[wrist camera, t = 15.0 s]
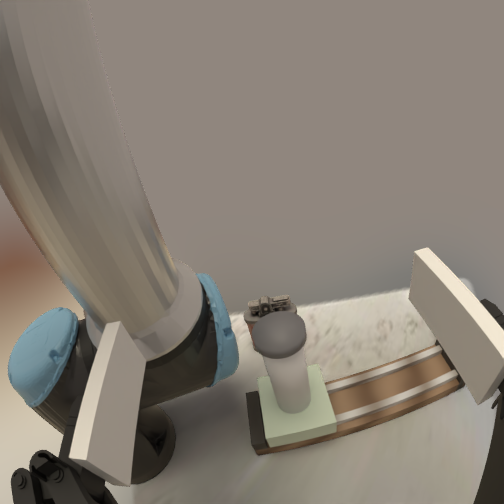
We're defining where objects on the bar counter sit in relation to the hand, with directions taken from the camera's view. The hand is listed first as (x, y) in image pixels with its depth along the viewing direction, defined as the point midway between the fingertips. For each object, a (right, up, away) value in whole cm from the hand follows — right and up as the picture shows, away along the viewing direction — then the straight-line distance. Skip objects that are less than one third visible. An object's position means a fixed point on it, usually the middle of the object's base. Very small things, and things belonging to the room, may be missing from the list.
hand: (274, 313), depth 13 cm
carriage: (+5, -17, +22) cm, 28 cm away
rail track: (+14, -18, +23) cm, 33 cm away
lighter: (+3, -13, +37) cm, 39 cm away
